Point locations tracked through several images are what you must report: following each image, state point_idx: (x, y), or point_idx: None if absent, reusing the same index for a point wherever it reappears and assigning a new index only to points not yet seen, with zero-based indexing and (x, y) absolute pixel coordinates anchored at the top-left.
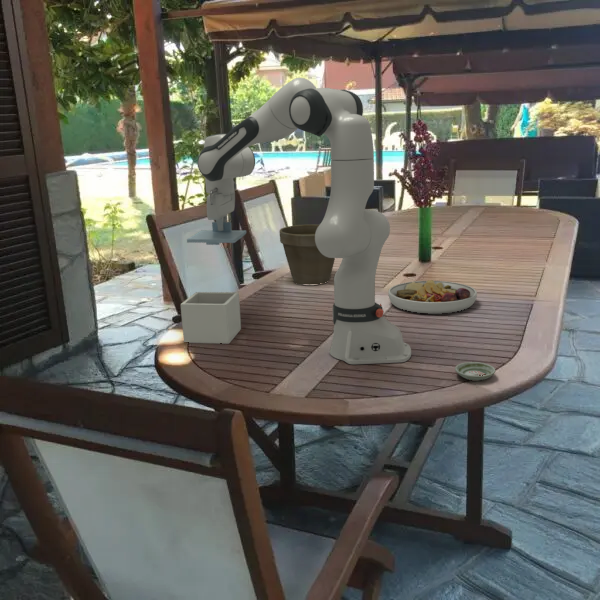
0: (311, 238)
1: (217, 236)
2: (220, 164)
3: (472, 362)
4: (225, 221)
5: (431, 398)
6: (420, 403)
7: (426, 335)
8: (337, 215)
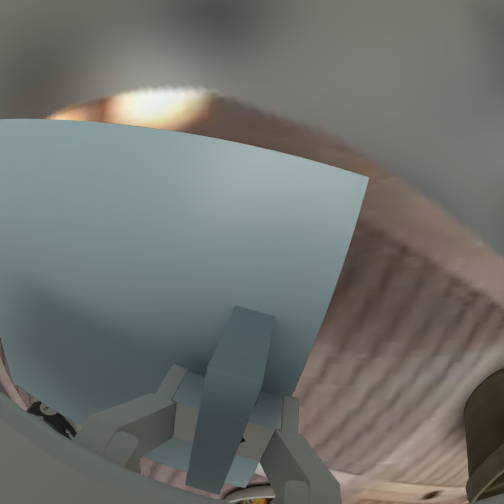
0: (481, 482)
1: (48, 324)
2: None
3: None
4: (270, 475)
5: (13, 394)
6: (5, 383)
7: (147, 467)
8: None
